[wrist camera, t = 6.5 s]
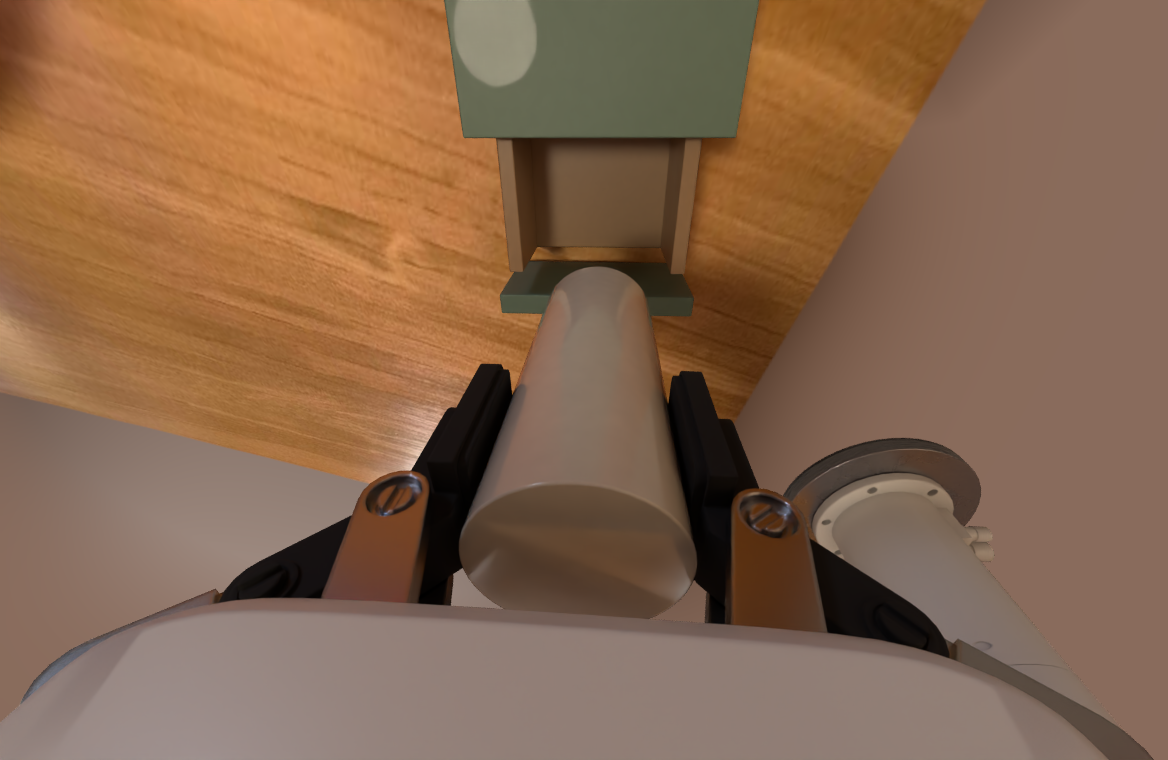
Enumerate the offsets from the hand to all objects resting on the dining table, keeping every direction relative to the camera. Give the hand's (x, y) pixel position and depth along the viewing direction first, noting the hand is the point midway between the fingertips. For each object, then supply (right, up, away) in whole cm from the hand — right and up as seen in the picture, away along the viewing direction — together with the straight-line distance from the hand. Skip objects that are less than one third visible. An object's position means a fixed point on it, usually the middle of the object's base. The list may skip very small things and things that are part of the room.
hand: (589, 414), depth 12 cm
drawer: (+1, +12, +16) cm, 20 cm away
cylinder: (0, +4, +6) cm, 7 cm away
